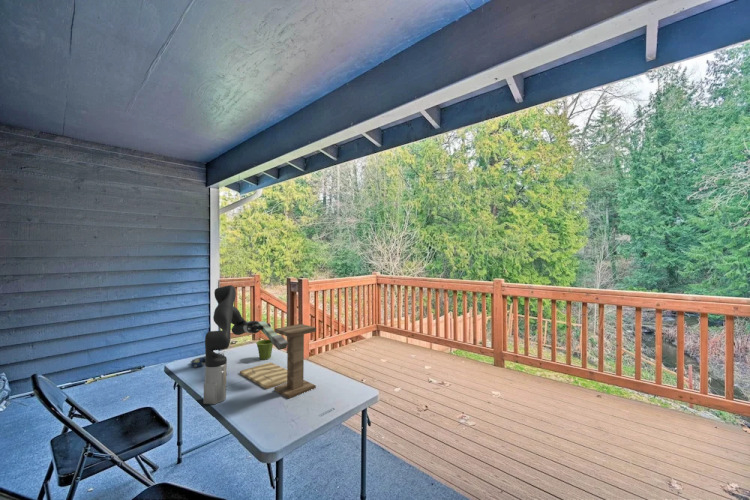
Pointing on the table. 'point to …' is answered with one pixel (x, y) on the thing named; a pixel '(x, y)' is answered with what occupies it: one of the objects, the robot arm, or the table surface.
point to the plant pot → (264, 349)
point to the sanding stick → (273, 336)
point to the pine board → (266, 375)
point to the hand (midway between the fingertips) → (266, 326)
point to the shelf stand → (295, 360)
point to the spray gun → (200, 361)
